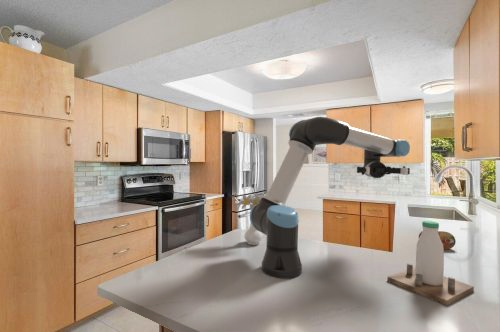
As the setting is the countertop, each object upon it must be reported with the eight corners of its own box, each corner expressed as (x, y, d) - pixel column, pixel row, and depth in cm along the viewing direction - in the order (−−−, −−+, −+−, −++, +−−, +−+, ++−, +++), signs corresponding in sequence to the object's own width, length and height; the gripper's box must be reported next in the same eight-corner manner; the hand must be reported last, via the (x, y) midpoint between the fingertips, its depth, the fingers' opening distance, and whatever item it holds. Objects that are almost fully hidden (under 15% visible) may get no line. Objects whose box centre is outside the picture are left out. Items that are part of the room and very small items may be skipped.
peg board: (387, 280, 92) (387, 266, 92) (415, 270, 101) (415, 257, 101) (446, 305, 77) (447, 288, 76) (473, 291, 86) (474, 275, 86)
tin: (419, 246, 132) (419, 229, 132) (417, 244, 135) (418, 228, 135) (455, 250, 127) (456, 233, 127) (453, 248, 130) (453, 231, 130)
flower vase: (232, 240, 137) (233, 191, 136) (267, 239, 140) (268, 191, 140) (235, 248, 124) (236, 195, 123) (273, 246, 127) (274, 194, 127)
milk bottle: (444, 288, 84) (445, 225, 83) (415, 282, 88) (416, 222, 87) (442, 279, 90) (443, 221, 90) (415, 274, 94) (416, 218, 94)
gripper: (405, 178, 121) (423, 181, 101) (347, 176, 127) (353, 179, 107) (405, 162, 121) (423, 161, 100) (347, 161, 127) (353, 160, 107)
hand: (387, 171), depth 104 cm, fingers open, 13 cm apart
